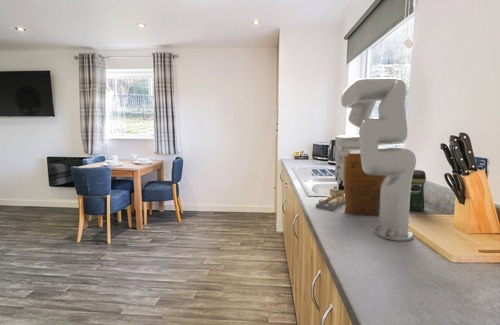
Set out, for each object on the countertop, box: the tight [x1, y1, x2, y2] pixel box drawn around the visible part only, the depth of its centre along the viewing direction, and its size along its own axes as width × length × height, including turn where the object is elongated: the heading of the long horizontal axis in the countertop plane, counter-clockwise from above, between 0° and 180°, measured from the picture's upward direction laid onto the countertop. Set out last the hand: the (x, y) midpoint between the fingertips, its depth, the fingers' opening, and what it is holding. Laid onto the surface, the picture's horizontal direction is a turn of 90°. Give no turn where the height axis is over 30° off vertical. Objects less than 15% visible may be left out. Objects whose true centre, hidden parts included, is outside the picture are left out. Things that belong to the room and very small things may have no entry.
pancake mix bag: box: [343, 152, 386, 217], centre depth 117 cm, size 7×19×28 cm, turn 77°
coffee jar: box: [409, 169, 427, 212], centre depth 123 cm, size 10×8×19 cm
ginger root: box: [318, 188, 345, 206], centre depth 133 cm, size 14×7×5 cm, turn 140°
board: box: [315, 193, 345, 211], centre depth 135 cm, size 20×9×5 cm, turn 140°
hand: (341, 192), depth 143 cm, fingers closed
